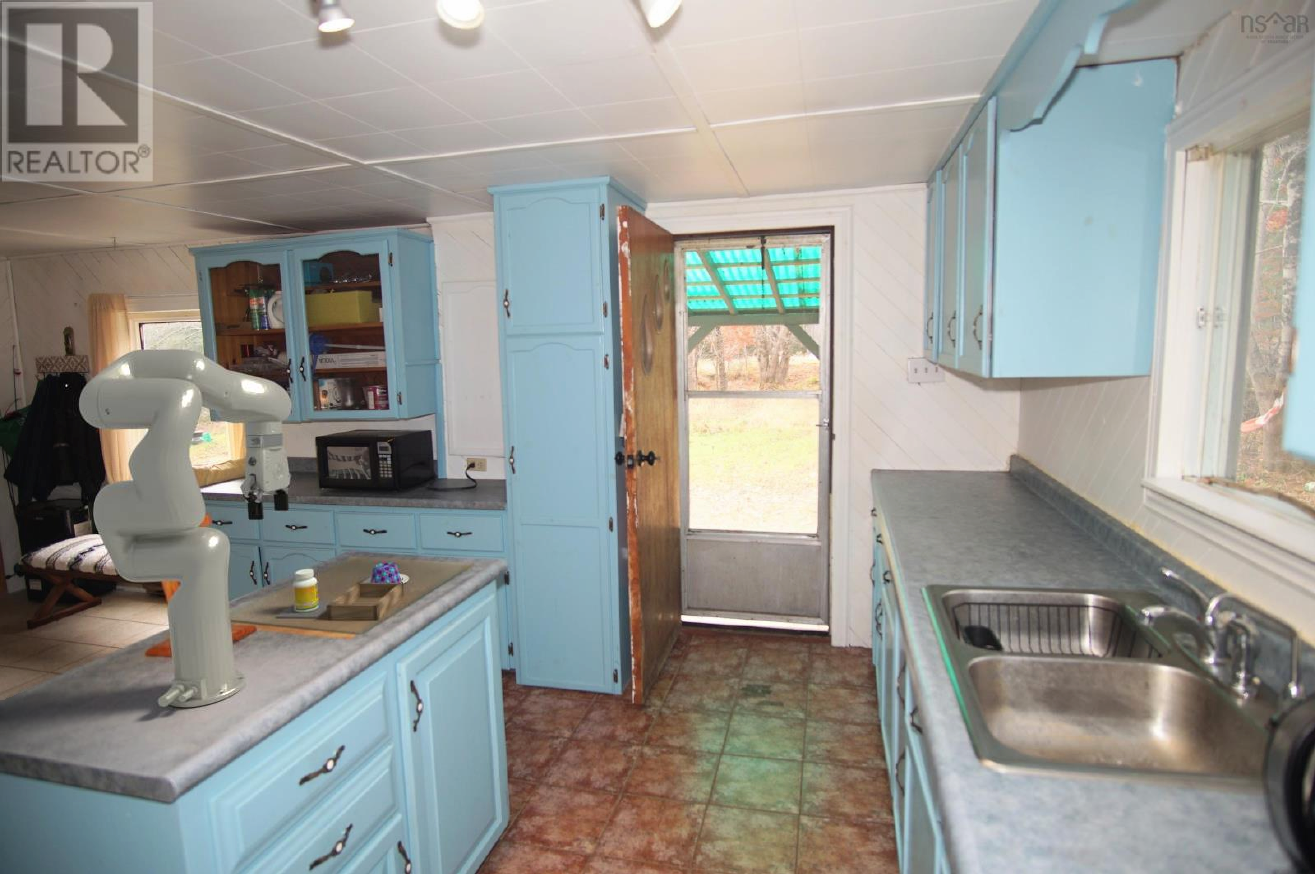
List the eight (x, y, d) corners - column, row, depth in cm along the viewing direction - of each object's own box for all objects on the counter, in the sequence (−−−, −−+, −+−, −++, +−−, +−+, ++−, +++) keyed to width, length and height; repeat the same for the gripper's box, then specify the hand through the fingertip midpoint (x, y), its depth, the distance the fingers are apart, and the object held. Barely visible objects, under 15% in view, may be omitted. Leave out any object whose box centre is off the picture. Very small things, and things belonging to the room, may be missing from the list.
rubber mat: (317, 618, 165) (317, 616, 165) (276, 617, 165) (276, 616, 165) (337, 602, 175) (337, 601, 175) (298, 602, 175) (298, 600, 175)
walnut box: (377, 620, 164) (376, 606, 163) (327, 619, 164) (326, 605, 164) (403, 595, 180) (403, 582, 179) (358, 595, 180) (357, 582, 179)
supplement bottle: (292, 608, 170) (289, 570, 169) (316, 603, 174) (313, 566, 172) (297, 614, 166) (294, 576, 165) (321, 609, 169) (318, 571, 168)
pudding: (378, 575, 197) (377, 557, 196) (417, 577, 195) (416, 559, 194) (353, 589, 185) (351, 570, 184) (394, 592, 183) (393, 573, 182)
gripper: (256, 446, 151) (261, 523, 152) (301, 438, 168) (305, 507, 170) (223, 446, 151) (229, 523, 153) (271, 438, 168) (276, 507, 170)
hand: (269, 514), depth 161 cm, fingers open, 9 cm apart
